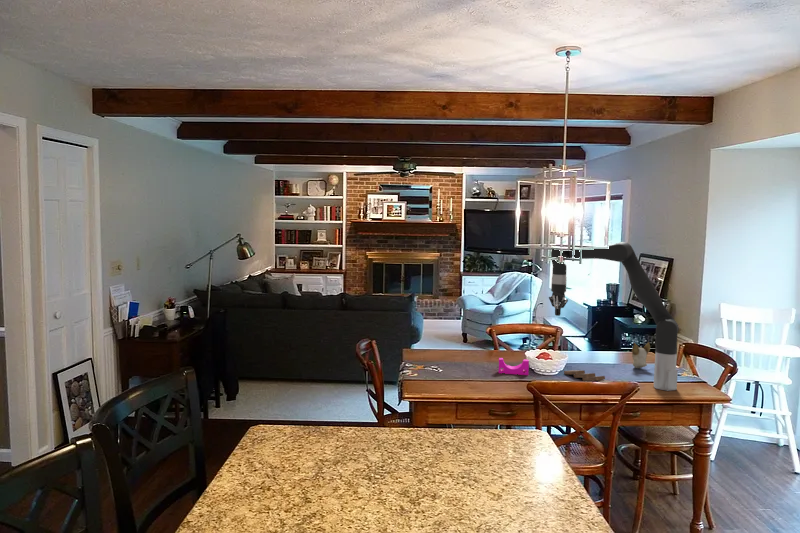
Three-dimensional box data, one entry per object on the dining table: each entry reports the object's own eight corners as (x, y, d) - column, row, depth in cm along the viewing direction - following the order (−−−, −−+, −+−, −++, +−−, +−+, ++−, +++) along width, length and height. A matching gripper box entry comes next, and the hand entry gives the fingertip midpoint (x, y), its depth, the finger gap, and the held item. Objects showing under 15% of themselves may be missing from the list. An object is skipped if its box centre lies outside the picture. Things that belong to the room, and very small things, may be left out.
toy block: (527, 372, 295) (528, 358, 294) (528, 375, 289) (528, 361, 288) (498, 370, 298) (499, 356, 297) (498, 373, 292) (498, 359, 291)
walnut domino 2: (581, 377, 288) (595, 376, 279) (573, 377, 286) (587, 377, 277) (581, 373, 288) (595, 373, 279) (573, 374, 286) (587, 374, 277)
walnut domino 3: (590, 380, 282) (605, 379, 273) (582, 381, 280) (597, 380, 271) (590, 376, 282) (604, 375, 274) (582, 377, 280) (596, 376, 271)
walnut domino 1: (572, 373, 294) (584, 373, 285) (564, 374, 292) (576, 374, 283) (571, 370, 294) (584, 370, 285) (563, 371, 293) (576, 371, 283)
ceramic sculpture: (641, 366, 313) (642, 339, 311) (652, 370, 304) (653, 342, 303) (624, 367, 310) (625, 340, 309) (634, 371, 302) (636, 343, 300)
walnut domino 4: (601, 382, 275) (615, 385, 266) (592, 383, 273) (607, 386, 264) (600, 379, 275) (615, 381, 266) (592, 380, 274) (607, 382, 264)
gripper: (545, 281, 303) (543, 313, 305) (561, 284, 291) (560, 317, 293) (556, 281, 307) (554, 313, 308) (573, 284, 295) (571, 317, 296)
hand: (557, 315), depth 300 cm, fingers closed
